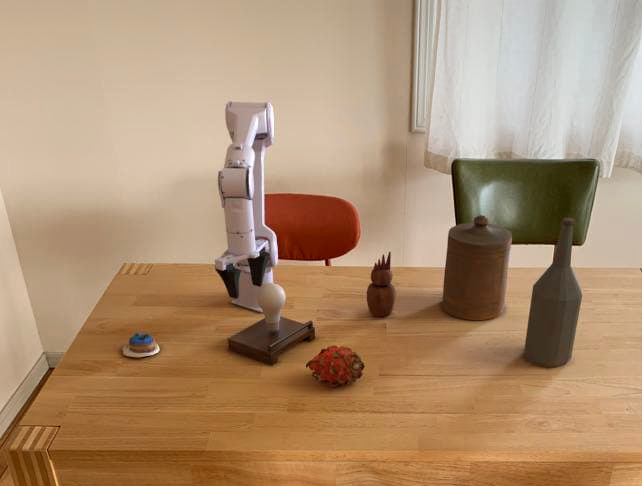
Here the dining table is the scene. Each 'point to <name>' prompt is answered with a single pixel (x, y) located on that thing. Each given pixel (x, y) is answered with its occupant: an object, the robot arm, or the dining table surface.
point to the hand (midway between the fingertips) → (245, 291)
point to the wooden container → (476, 270)
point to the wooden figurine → (381, 289)
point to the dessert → (140, 346)
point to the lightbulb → (271, 304)
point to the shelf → (270, 339)
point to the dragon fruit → (337, 365)
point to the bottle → (554, 307)
